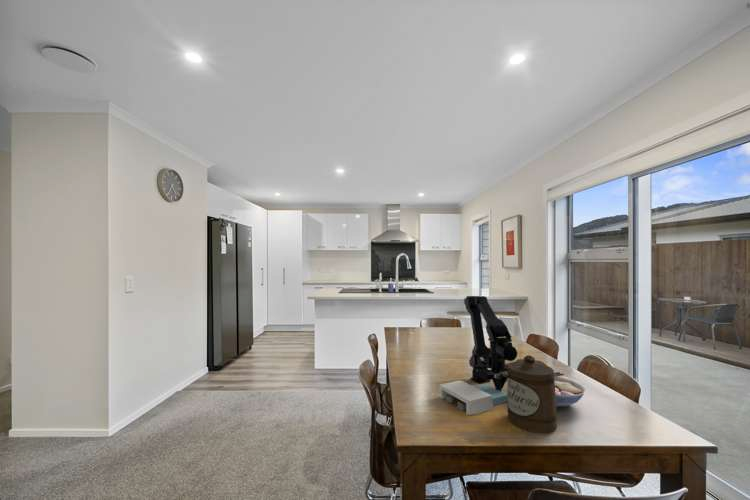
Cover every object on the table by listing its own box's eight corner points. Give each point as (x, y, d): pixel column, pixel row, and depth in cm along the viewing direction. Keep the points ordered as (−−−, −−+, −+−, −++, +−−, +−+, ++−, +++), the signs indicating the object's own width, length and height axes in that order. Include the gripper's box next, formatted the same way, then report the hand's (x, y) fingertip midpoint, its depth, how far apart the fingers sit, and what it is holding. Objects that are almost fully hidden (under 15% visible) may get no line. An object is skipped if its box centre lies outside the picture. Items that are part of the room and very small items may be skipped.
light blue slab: (485, 390, 132) (485, 384, 132) (509, 401, 121) (508, 394, 121) (467, 394, 127) (467, 388, 128) (490, 406, 117) (490, 399, 117)
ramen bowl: (548, 421, 105) (547, 396, 106) (503, 394, 127) (503, 374, 128) (604, 412, 112) (603, 389, 112) (553, 388, 134) (552, 369, 134)
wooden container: (498, 415, 109) (497, 352, 110) (530, 409, 114) (528, 348, 116) (533, 437, 95) (531, 364, 97) (567, 428, 100) (565, 359, 102)
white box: (460, 392, 129) (460, 380, 130) (492, 409, 114) (492, 395, 114) (439, 397, 125) (439, 384, 125) (469, 415, 109) (469, 400, 109)
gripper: (498, 346, 139) (499, 382, 138) (466, 351, 131) (467, 389, 130) (519, 352, 129) (520, 391, 128) (486, 358, 121) (487, 399, 120)
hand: (498, 392), depth 127 cm, fingers closed
